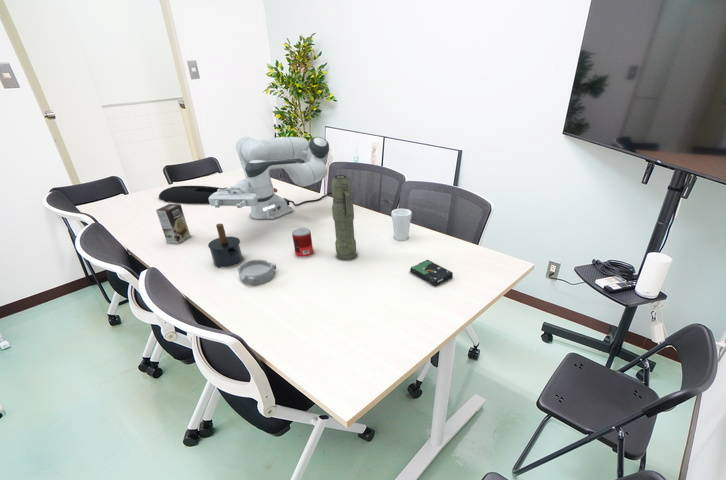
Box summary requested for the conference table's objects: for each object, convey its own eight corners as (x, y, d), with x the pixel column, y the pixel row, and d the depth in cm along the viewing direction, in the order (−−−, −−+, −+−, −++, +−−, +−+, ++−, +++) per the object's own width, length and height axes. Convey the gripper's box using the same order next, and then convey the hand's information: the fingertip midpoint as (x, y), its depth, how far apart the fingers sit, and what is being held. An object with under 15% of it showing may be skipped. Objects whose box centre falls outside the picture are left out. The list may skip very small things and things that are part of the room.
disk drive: (452, 278, 158) (427, 264, 167) (453, 272, 156) (427, 258, 165) (435, 287, 152) (409, 272, 161) (435, 281, 150) (409, 266, 159)
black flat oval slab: (175, 188, 248) (172, 181, 245) (235, 192, 244) (233, 184, 241) (149, 202, 228) (146, 193, 225) (213, 206, 223) (211, 197, 220)
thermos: (345, 263, 167) (339, 182, 147) (331, 254, 174) (322, 175, 155) (362, 257, 172) (358, 178, 152) (347, 248, 179) (341, 171, 160)
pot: (232, 251, 176) (227, 233, 171) (250, 263, 166) (246, 245, 162) (207, 259, 169) (201, 241, 164) (225, 273, 159) (220, 254, 155)
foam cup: (413, 235, 191) (414, 210, 184) (406, 243, 184) (406, 217, 177) (396, 232, 195) (396, 207, 187) (388, 239, 188) (388, 213, 180)
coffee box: (178, 244, 181) (167, 211, 172) (166, 243, 182) (154, 209, 173) (191, 236, 189) (181, 204, 180) (179, 235, 190) (169, 203, 181)
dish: (255, 290, 149) (253, 279, 146) (231, 280, 155) (228, 269, 152) (283, 274, 159) (281, 263, 156) (260, 265, 165) (258, 254, 162)
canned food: (316, 251, 176) (313, 228, 170) (307, 259, 170) (304, 235, 164) (301, 248, 178) (298, 226, 172) (292, 256, 172) (288, 233, 166)
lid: (238, 236, 170) (233, 217, 165) (242, 248, 161) (237, 227, 156) (207, 242, 165) (201, 222, 160) (210, 254, 156) (204, 233, 151)
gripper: (262, 202, 180) (253, 213, 168) (218, 202, 179) (205, 213, 168) (260, 188, 176) (250, 199, 165) (214, 188, 176) (201, 198, 164)
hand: (227, 206), depth 166 cm, fingers open, 8 cm apart
